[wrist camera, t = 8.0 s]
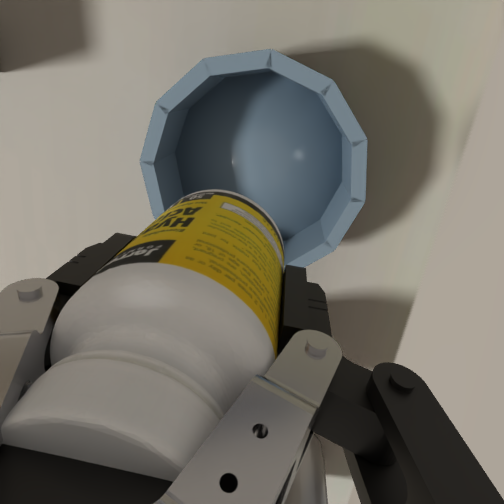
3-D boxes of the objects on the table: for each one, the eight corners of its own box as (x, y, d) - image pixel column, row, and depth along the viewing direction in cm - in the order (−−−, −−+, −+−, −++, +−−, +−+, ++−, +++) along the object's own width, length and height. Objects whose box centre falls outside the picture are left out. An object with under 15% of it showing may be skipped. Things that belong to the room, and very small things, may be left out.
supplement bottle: (215, 155, 12) (30, 307, 4) (311, 252, 14) (343, 536, 5) (133, 245, 15) (-110, 478, 6) (224, 322, 16) (137, 610, 7)
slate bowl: (386, 187, 29) (407, 209, 24) (241, 273, 35) (231, 308, 29) (283, 9, 24) (280, -13, 19) (134, 142, 30) (99, 154, 24)
